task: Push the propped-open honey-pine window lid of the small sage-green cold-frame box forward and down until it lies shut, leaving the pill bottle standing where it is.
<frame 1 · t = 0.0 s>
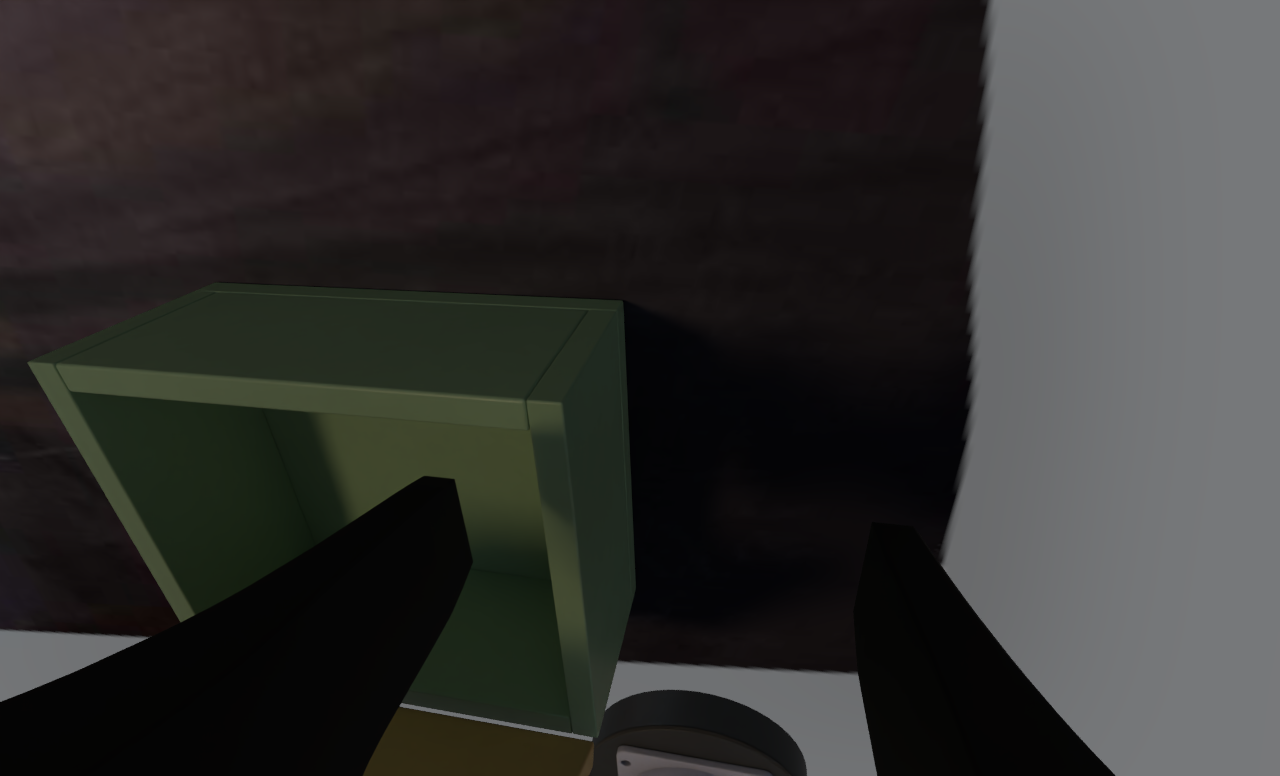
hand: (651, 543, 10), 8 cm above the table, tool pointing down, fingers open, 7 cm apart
cold frame: (441, 446, 21), on the table
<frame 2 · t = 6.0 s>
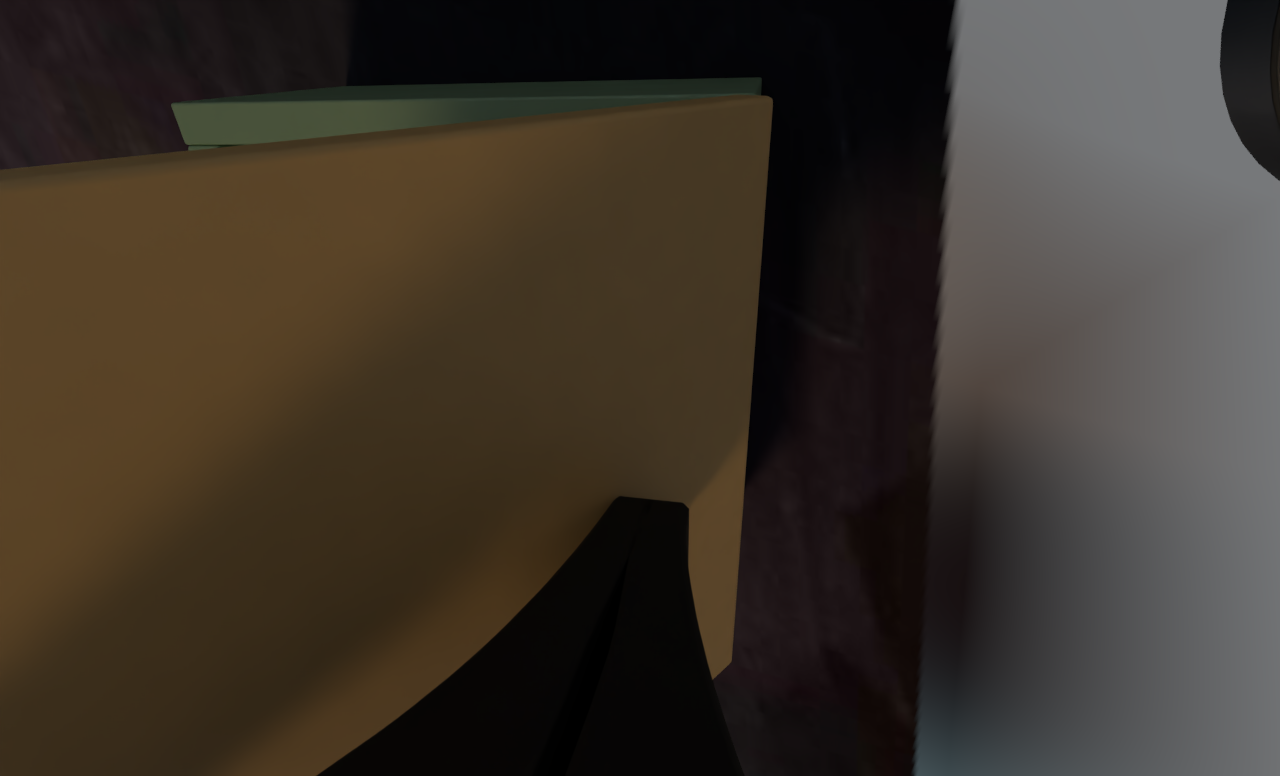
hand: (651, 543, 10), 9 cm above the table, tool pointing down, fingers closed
window lid: (473, 608, 9), point 11 cm above the table, hinge at 53.3°, touching gripper
cold frame: (562, 319, 19), on the table
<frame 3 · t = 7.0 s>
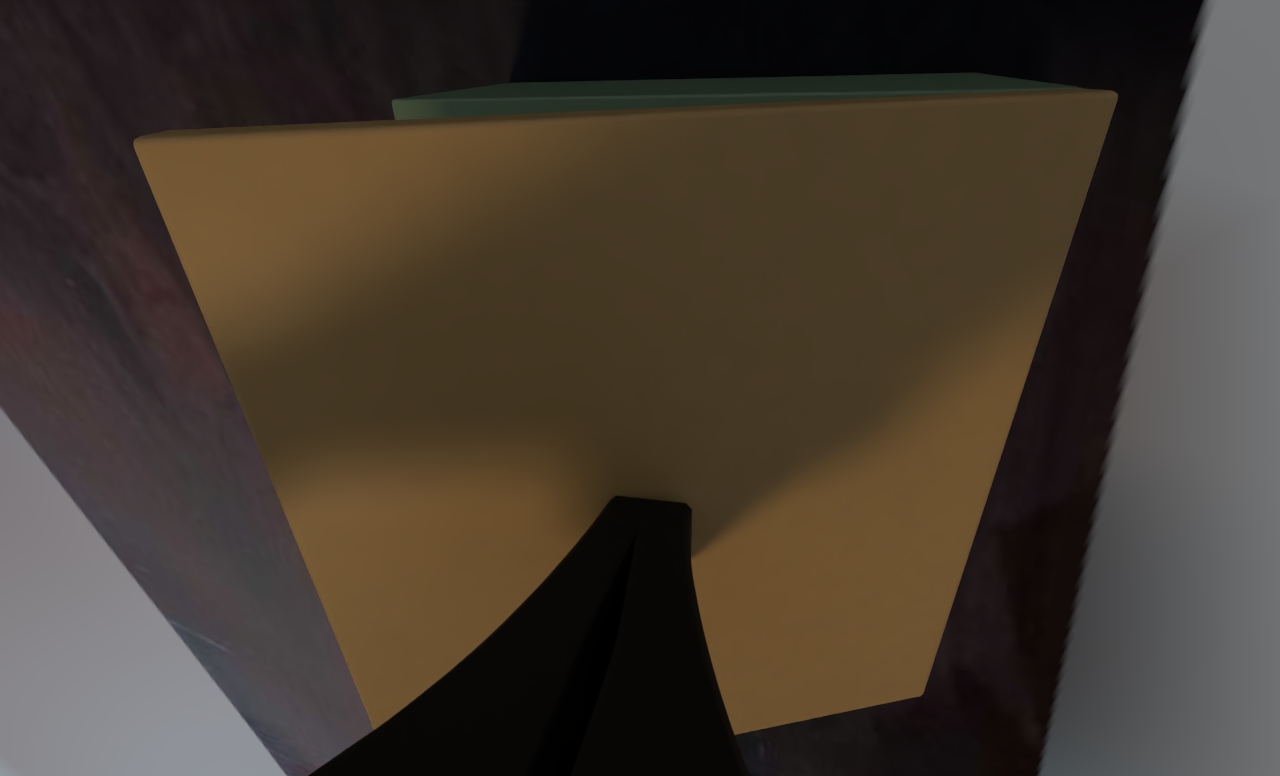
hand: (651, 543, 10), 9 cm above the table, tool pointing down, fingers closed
window lid: (677, 513, 11), point 9 cm above the table, hinge at 21.7°, touching gripper
cold frame: (716, 327, 18), on the table
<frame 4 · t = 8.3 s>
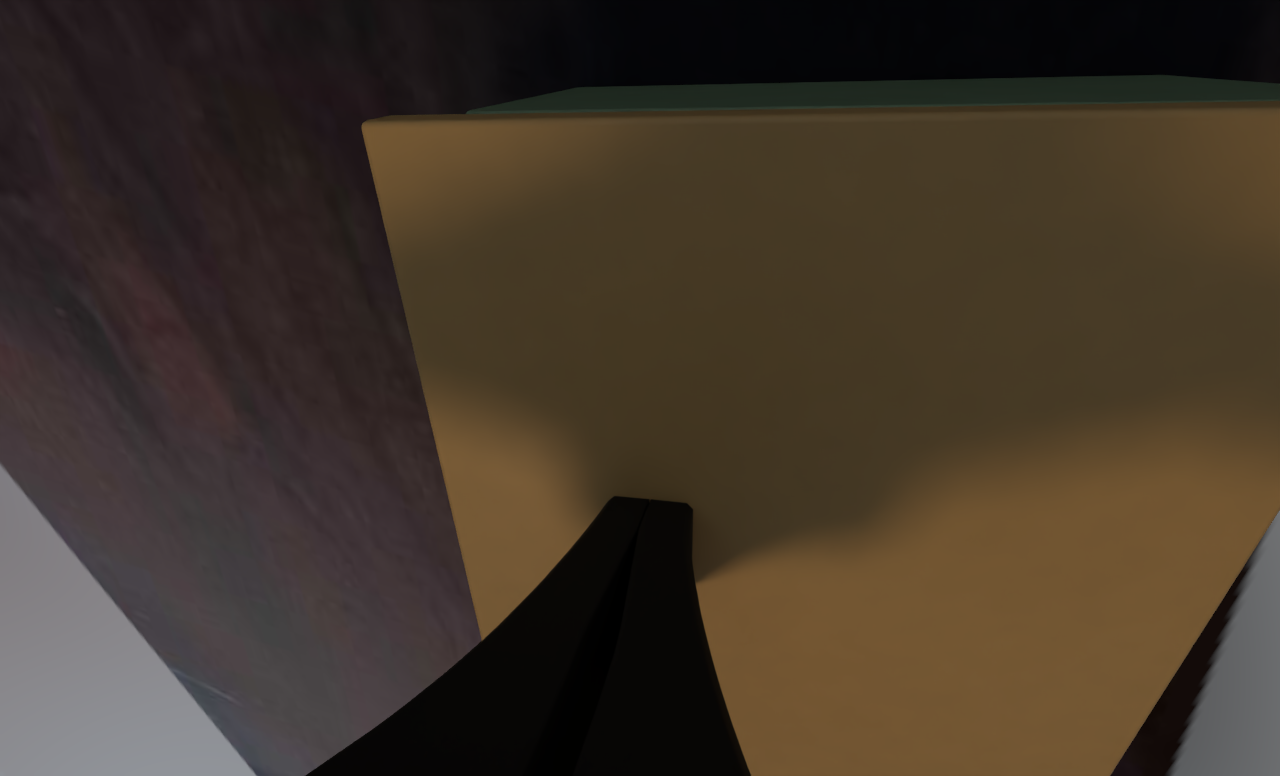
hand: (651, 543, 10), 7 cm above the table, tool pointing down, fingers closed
window lid: (801, 541, 10), point 6 cm above the table, hinge at 1.8°, touching gripper
cold frame: (809, 371, 16), on the table
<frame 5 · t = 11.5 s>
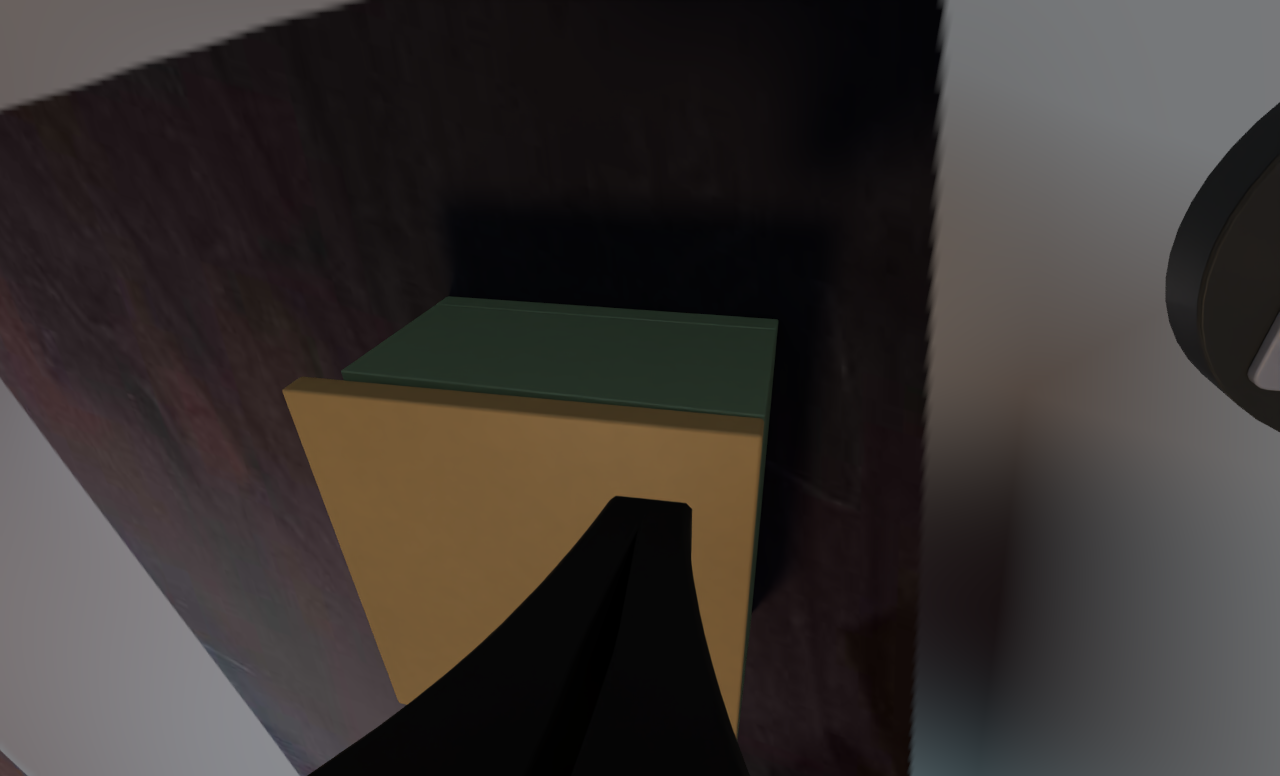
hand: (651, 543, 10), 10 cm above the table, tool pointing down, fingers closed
window lid: (538, 594, 18), point 6 cm above the table, hinge at 1.8°
cold frame: (612, 468, 24), on the table
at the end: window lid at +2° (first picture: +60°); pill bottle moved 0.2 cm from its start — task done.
